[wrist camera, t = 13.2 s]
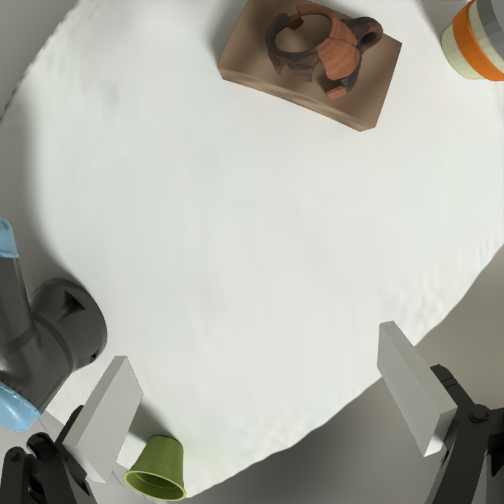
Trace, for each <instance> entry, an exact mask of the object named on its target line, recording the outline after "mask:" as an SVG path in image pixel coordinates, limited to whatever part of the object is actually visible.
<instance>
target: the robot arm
mask: <svg viewBox="0 0 504 504" xmlns="http://www.w3.org/2000/svg"><path fill="white" fill-rule="evenodd" d="M19 257H20V256H19V252H18V251H17V247H16V243H15V238H14V233H13V228H12V226H11V224H10V223H9V221H8V220H6V219H4V218H2V217H0V424H1V425H2V426H4V427H6V428H8V429H10V430H13V431H17V432H23V431H26V430H27V429H29V427H30V426H31V425H32V424H33V423H34V422H35V420H36V419H38V418H40V416H41V414H42V413H43V411H44V410H45V408H46V407H47V406H48V404H49V403H50V401H51V400H52V399H53V397H54V396H55V394H56V393H57V392H58V390H59V389H60V388H61V386H62V385H63V383H64V382H65V381H66V379H67V378H68V377H69V376H70V374H71V373H73V372H75V371H77V370H79V369H81V368H83V367H85V366H87V365H89V364H91V363H92V362H94V361H95V360H96V359H97V358H98V357H99V355H100V354H101V353H102V351H103V350H104V348H105V346H106V342H107V328H106V324H105V321H104V318H103V316H102V313H101V311H100V310H99V308H98V306H97V305H96V303H95V302H94V301H93V299H92V298H91V297H90V296H89V295H88V294H87V293H86V292H85V291H84V290H83V289H82V288H80V287H79V286H77V285H76V284H74V283H72V282H70V281H67V280H64V279H52V280H49V281H47V282H45V283H44V284H42V285H41V286H39V287H38V288H37V289H36V290H35V291H34V293H33V294H32V296H31V298H30V299H29V301H28V298H27V294H26V290H25V286H24V282H23V277H22V273H21V267H20V262H19ZM377 367H378V369H379V371H380V373H381V375H382V376H383V378H384V380H385V382H386V384H387V386H388V388H389V389H390V391H391V393H392V395H393V397H394V399H395V401H396V403H397V405H398V407H399V408H400V410H401V412H402V414H403V416H404V418H405V420H406V422H407V424H408V426H409V428H410V430H411V432H412V434H413V436H414V438H415V440H416V442H417V444H418V446H419V448H420V450H421V452H422V455H423V457H425V456H428V455H430V454H433V453H435V452H438V451H440V449H441V447H442V445H443V442H444V444H445V446H446V448H447V450H446V452H445V454H444V456H443V458H442V460H441V462H442V463H441V466H440V469H439V471H438V474H437V476H436V479H435V481H434V484H433V486H432V488H431V491H430V493H429V495H428V497H427V500H426V502H425V504H471V503H472V500H473V496H474V493H475V490H476V487H477V484H478V480H479V476H480V473H481V469H482V465H483V461H484V457H485V456H487V494H486V504H504V408H499V409H494V410H489V409H488V408H487V407H486V406H483V405H480V404H475V403H473V401H472V400H471V398H470V397H469V396H468V395H467V393H466V392H465V391H464V389H463V388H462V387H461V386H460V384H458V382H457V380H456V379H455V378H454V377H453V375H452V374H451V373H450V372H449V370H448V369H446V368H445V367H443V366H441V365H440V364H438V365H435V366H432V367H429V366H428V365H427V364H426V362H425V361H424V360H423V358H422V357H421V356H420V354H419V353H418V352H417V351H416V349H415V348H414V347H413V345H412V344H411V343H410V341H409V340H408V339H407V338H406V336H405V335H404V334H403V332H402V331H401V330H400V329H399V327H398V326H397V325H396V324H395V322H394V321H390V322H385V323H381V324H380V326H379V345H378V359H377ZM142 396H143V391H142V389H141V387H140V385H139V383H138V380H137V378H136V376H135V374H134V371H133V369H132V367H131V364H130V362H129V360H128V357H127V356H115V357H114V359H113V360H112V362H111V363H110V365H109V366H108V368H107V369H106V371H105V373H104V374H103V376H102V377H101V379H100V381H99V382H98V384H97V385H96V387H95V389H94V390H93V392H92V394H91V395H90V397H89V398H88V400H87V402H86V403H85V405H80V406H79V407H78V408H77V409H75V410H74V411H73V413H72V414H71V416H70V418H69V420H68V421H67V423H66V426H64V428H63V429H62V431H61V432H60V434H59V436H58V438H57V439H56V441H55V443H54V442H53V441H52V439H51V438H50V437H49V435H48V434H46V433H44V432H39V433H36V434H34V435H32V436H31V437H30V438H29V439H28V441H27V445H26V446H27V448H28V449H29V450H30V452H31V453H32V454H27V453H26V452H25V451H24V450H23V448H21V447H13V448H11V449H9V450H8V451H7V453H6V455H5V458H4V464H3V470H2V477H1V485H0V504H97V502H96V500H95V498H94V496H93V493H92V491H91V489H90V487H89V484H88V483H87V481H86V480H85V478H86V475H87V474H88V475H89V477H90V478H91V479H92V480H93V481H96V482H101V483H105V484H107V483H108V480H109V478H110V475H111V473H112V470H113V467H114V465H115V462H116V460H117V457H118V455H119V452H120V450H121V447H122V445H123V442H124V440H125V437H126V435H127V432H128V430H129V427H130V425H131V423H132V420H133V418H134V415H135V413H136V411H137V408H138V406H139V403H140V401H141V399H142ZM29 488H30V489H29Z"/></svg>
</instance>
